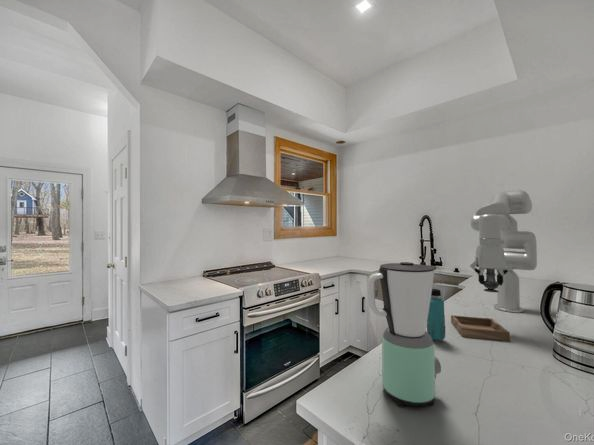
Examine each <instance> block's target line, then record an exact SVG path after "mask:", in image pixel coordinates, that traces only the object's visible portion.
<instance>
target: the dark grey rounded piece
mask: <svg viewBox="0 0 594 445" xmlns="http://www.w3.org/2000/svg"><path fill="white" fill-rule="evenodd" d="M495 271H496V269H486V273H485V275H486V279H485V280H484V285H483V286H484V289H483V291H484V292H488V293H497V292H499V291H497V288H498V284H499V283H497V279H496V276H497V273H495Z"/></svg>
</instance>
